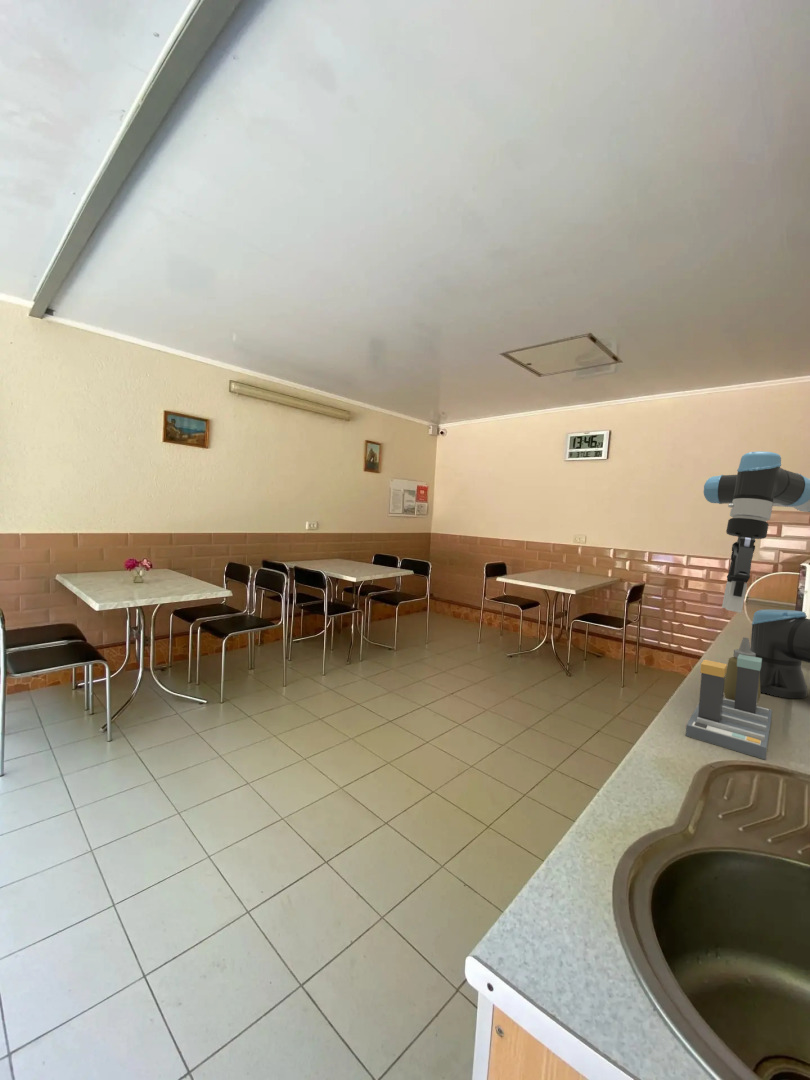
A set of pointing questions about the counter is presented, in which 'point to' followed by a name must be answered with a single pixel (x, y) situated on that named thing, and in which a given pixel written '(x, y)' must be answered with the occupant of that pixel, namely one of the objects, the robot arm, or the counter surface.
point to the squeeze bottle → (732, 670)
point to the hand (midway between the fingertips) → (730, 610)
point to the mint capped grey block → (747, 683)
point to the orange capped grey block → (712, 690)
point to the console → (734, 729)
